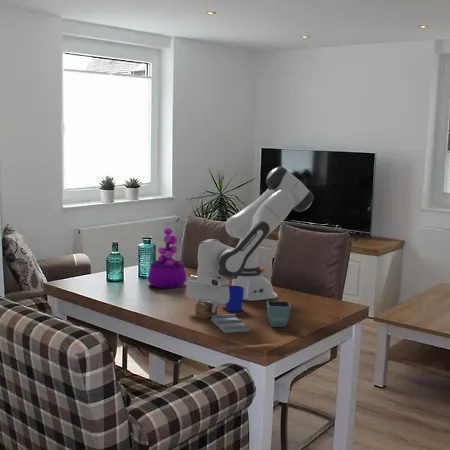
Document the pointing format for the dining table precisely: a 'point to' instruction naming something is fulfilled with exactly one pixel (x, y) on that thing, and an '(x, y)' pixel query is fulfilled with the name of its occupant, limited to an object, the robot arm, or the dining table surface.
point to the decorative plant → (167, 266)
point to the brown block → (205, 310)
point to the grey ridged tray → (229, 323)
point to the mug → (235, 298)
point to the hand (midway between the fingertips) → (206, 310)
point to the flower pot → (278, 313)
